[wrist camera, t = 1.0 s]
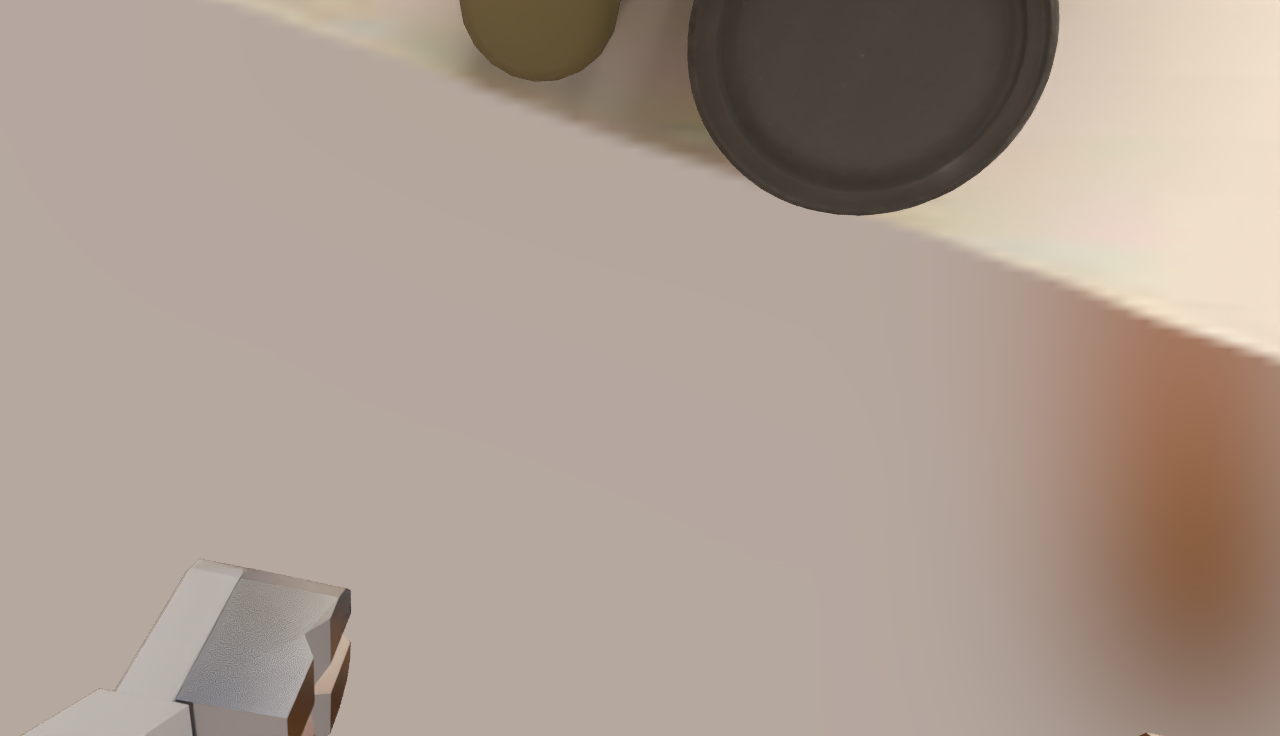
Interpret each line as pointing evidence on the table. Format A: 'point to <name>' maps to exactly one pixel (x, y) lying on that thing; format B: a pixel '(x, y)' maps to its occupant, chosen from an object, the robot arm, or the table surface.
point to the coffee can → (867, 92)
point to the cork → (540, 34)
